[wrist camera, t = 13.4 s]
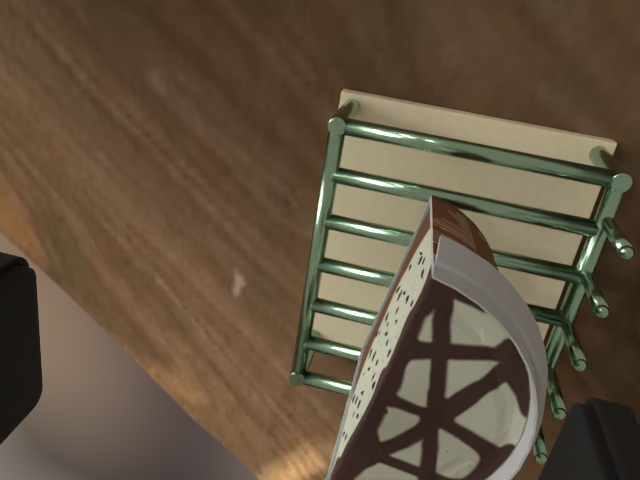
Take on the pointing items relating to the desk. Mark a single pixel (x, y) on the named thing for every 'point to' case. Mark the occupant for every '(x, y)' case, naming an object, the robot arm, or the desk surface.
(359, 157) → the dish rack
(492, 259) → the food container
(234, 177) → the desk surface
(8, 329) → the robot arm
